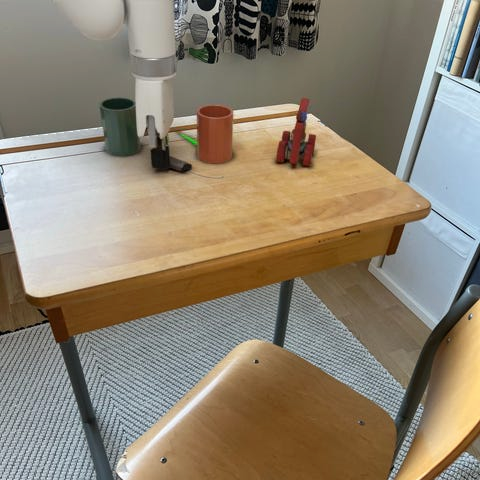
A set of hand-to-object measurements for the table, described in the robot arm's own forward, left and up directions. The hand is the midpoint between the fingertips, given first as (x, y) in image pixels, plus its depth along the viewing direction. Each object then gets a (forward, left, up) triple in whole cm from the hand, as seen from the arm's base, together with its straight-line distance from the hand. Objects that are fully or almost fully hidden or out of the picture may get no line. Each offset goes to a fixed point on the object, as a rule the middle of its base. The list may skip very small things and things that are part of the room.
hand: (161, 166), depth 98 cm
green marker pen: (+5, +13, -2) cm, 14 cm away
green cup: (-10, +9, -1) cm, 13 cm away
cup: (+9, +9, -1) cm, 13 cm away
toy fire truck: (+26, +11, -1) cm, 28 cm away
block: (+2, +2, -1) cm, 4 cm away
